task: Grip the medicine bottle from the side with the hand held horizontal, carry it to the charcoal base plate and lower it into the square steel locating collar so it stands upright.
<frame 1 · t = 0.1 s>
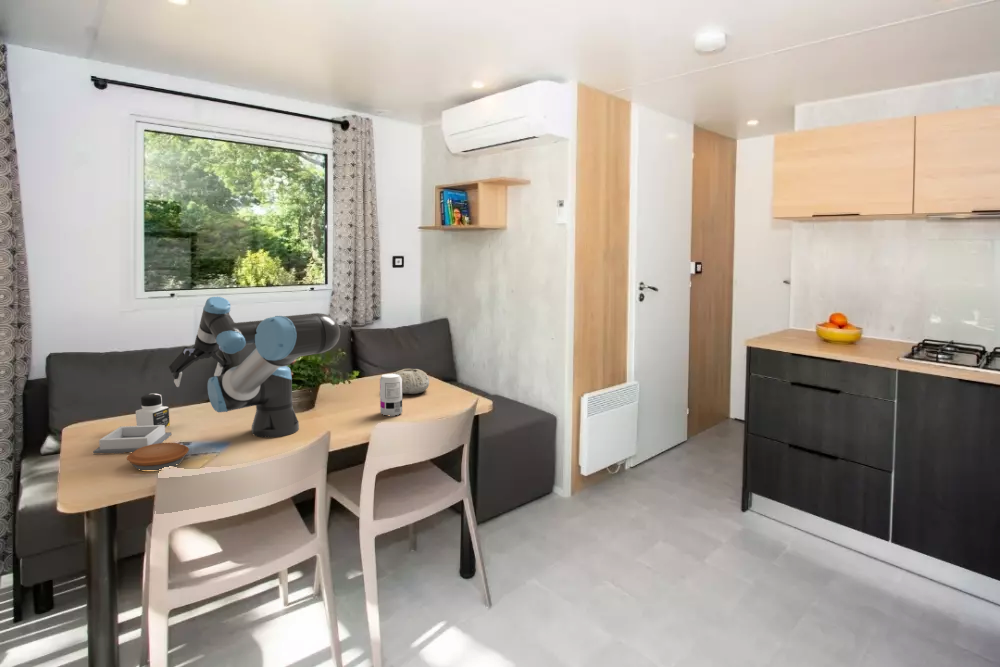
hand: (196, 380, 204), 15 cm above the table, tool tilted 35°, fingers open, 13 cm apart
medicine bottle: (153, 429, 198), on the table
supplement can: (391, 414, 219), on the table
grey squat round piece: (409, 392, 252), on the table
dock: (134, 444, 182), on the table
pie: (159, 465, 166), on the table
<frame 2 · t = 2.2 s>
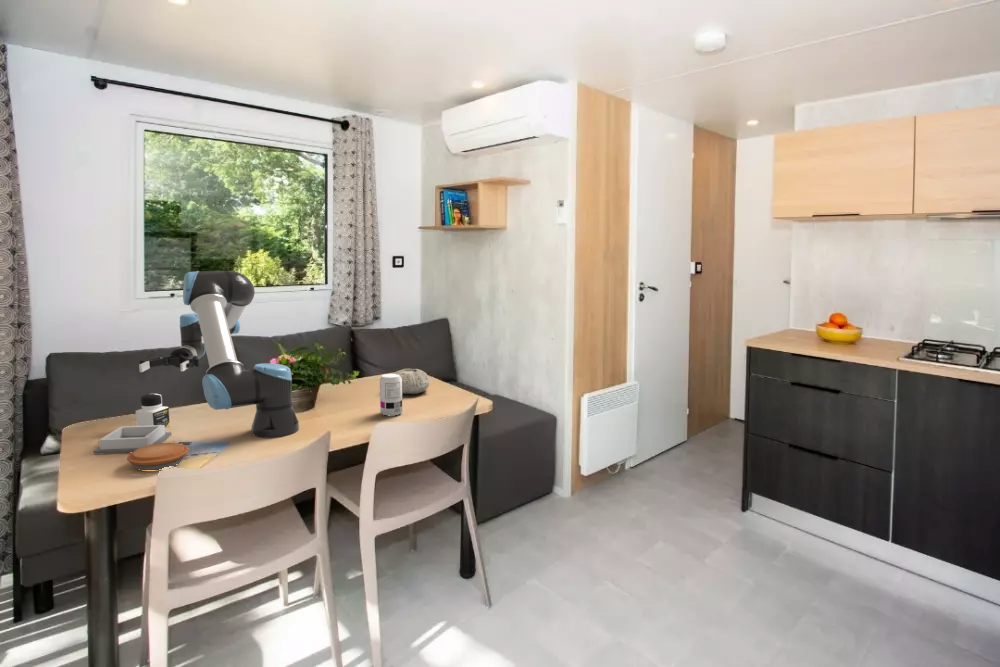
hand: (161, 368, 205), 19 cm above the table, tool horizontal, fingers open, 13 cm apart
nothing on the table moved.
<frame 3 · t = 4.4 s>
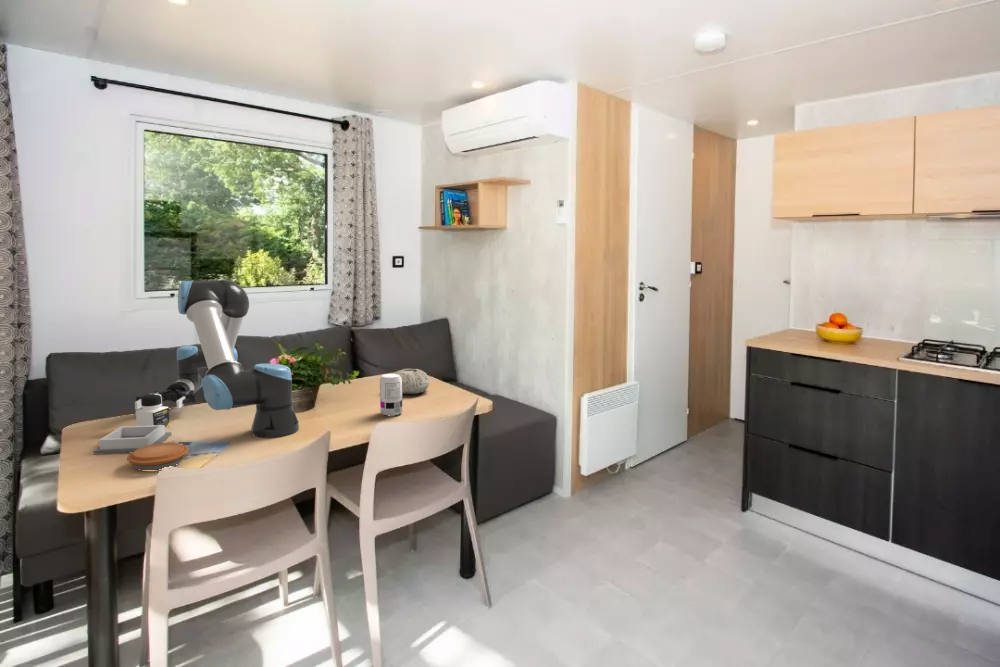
hand: (157, 405, 202), 7 cm above the table, tool horizontal, fingers open, 13 cm apart
nothing on the table moved.
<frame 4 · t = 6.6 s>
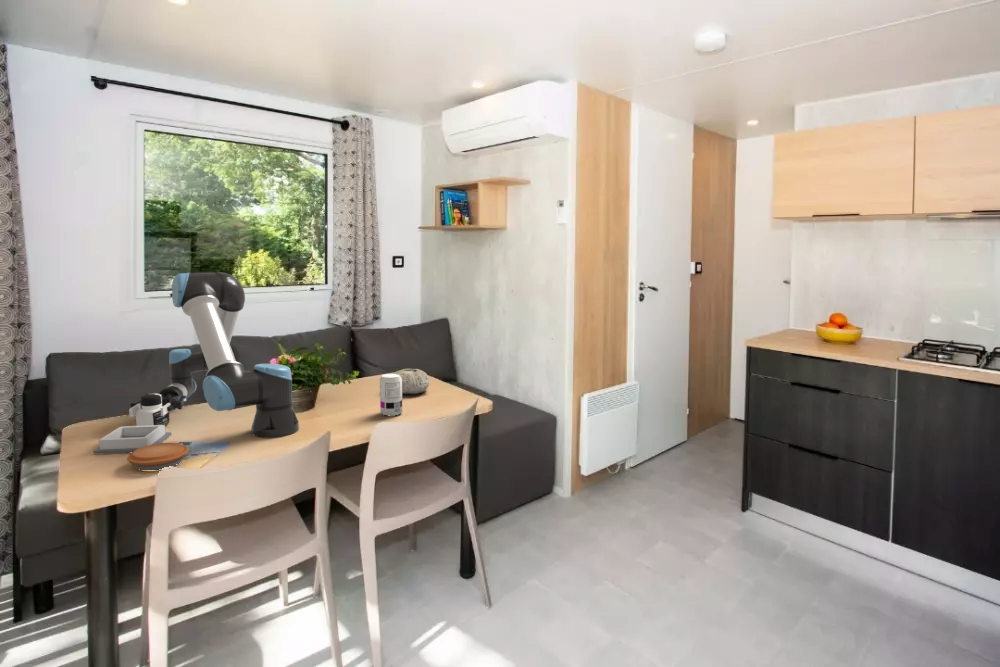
hand: (146, 412, 193), 7 cm above the table, tool horizontal, fingers closed on medicine bottle, 9 cm apart
medicine bottle: (153, 428, 198), on the table, touching gripper
everything else where it was.
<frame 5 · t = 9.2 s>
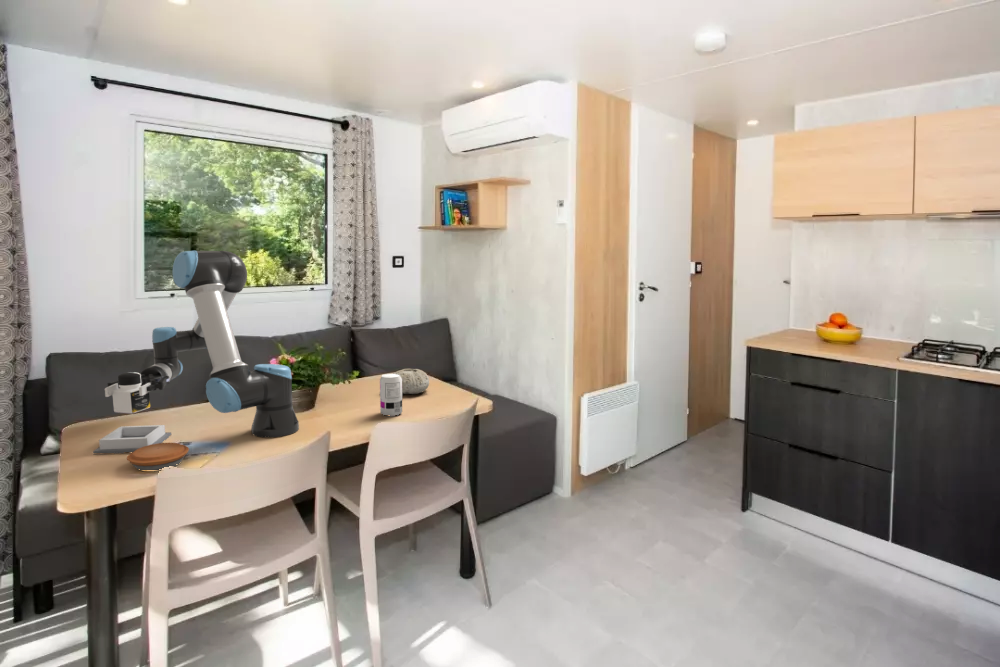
hand: (123, 392, 177), 18 cm above the table, tool horizontal, fingers closed on medicine bottle, 9 cm apart
medicine bottle: (132, 410, 183), point 11 cm above the table, touching gripper
everything else where it was.
when the fingers open (9 cm above the table, at t = 11.9 s): medicine bottle drops 1 cm, resting on dock.
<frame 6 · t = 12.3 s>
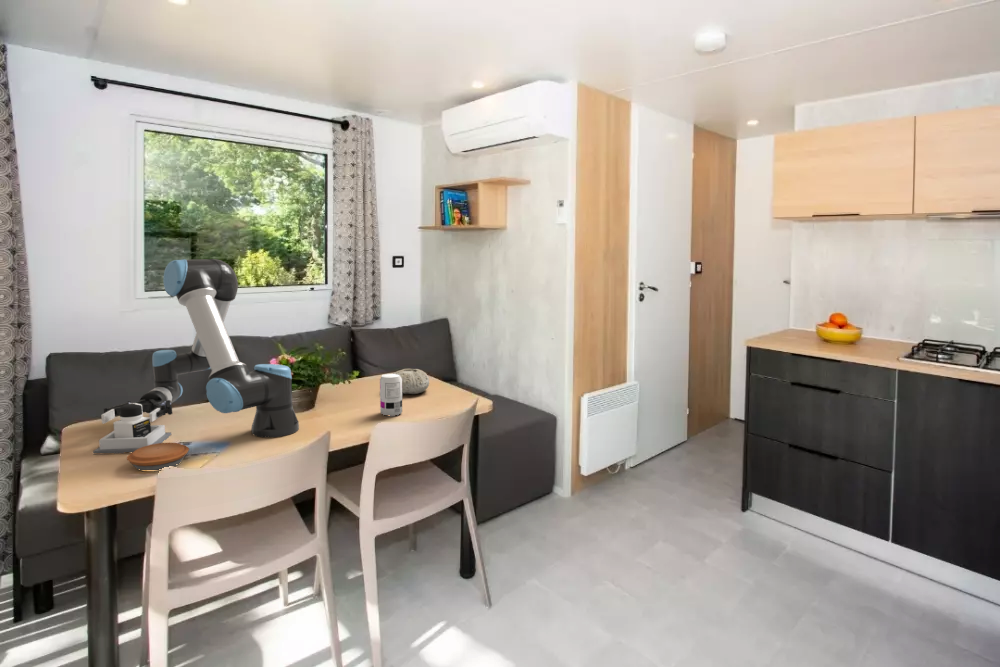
hand: (126, 418, 178), 9 cm above the table, tool horizontal, fingers open, 13 cm apart
medicine bottle: (133, 441, 182), point 1 cm above the table, touching dock
everything else where it was.
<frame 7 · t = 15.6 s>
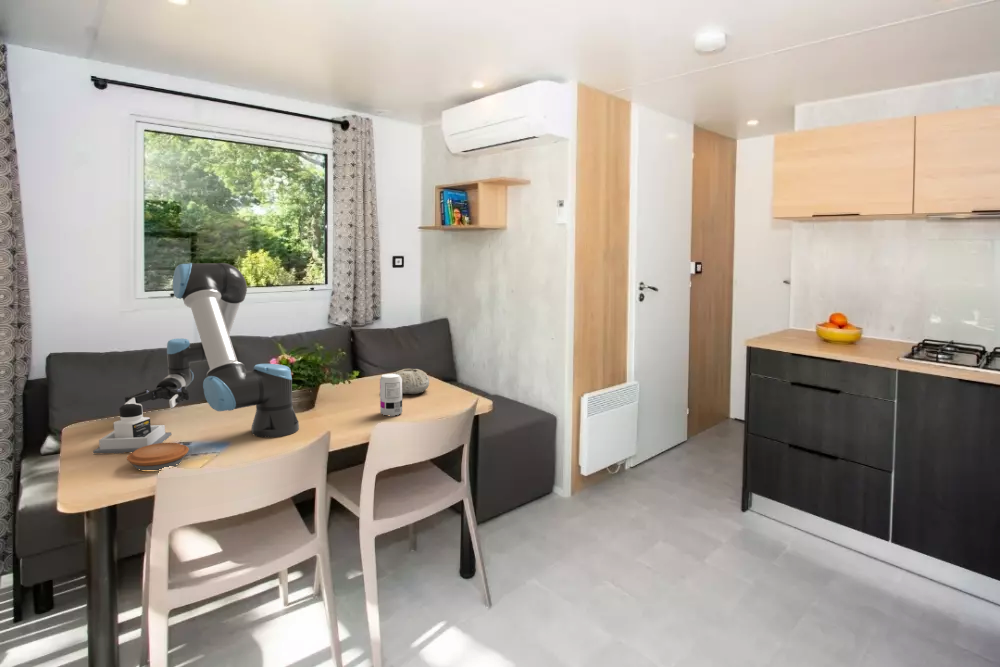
hand: (148, 406, 191), 10 cm above the table, tool horizontal, fingers open, 13 cm apart
nothing on the table moved.
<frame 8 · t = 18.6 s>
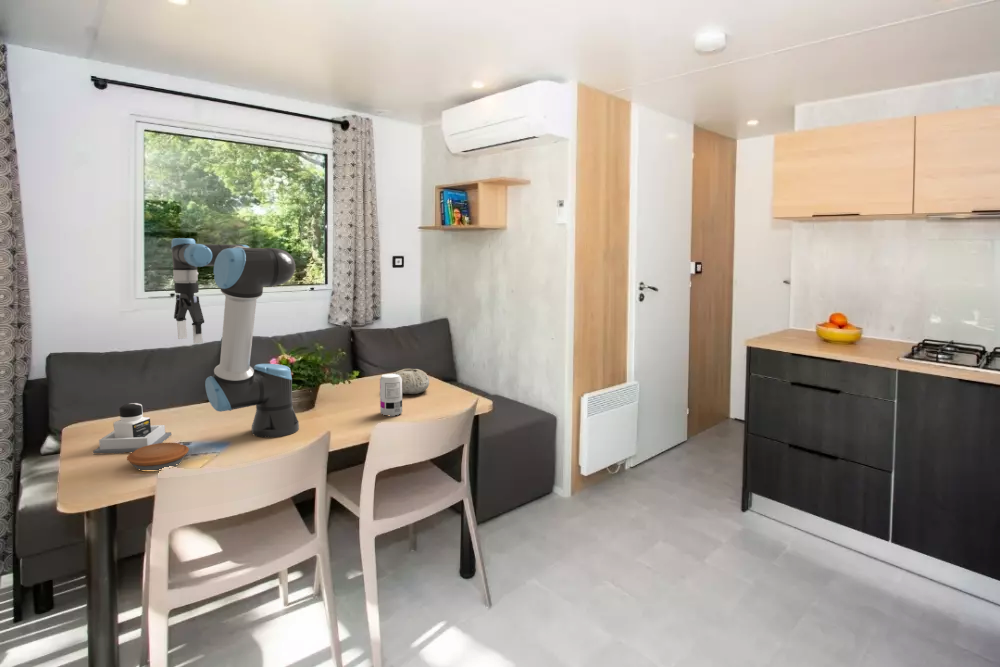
hand: (190, 340, 207), 29 cm above the table, tool pointing down, fingers open, 13 cm apart
nothing on the table moved.
at the end: medicine bottle 0.1 cm off-centre on the dock, point 0.8 cm above the dock's base; medicine bottle tilted 0°; the gripper is holding nothing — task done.
